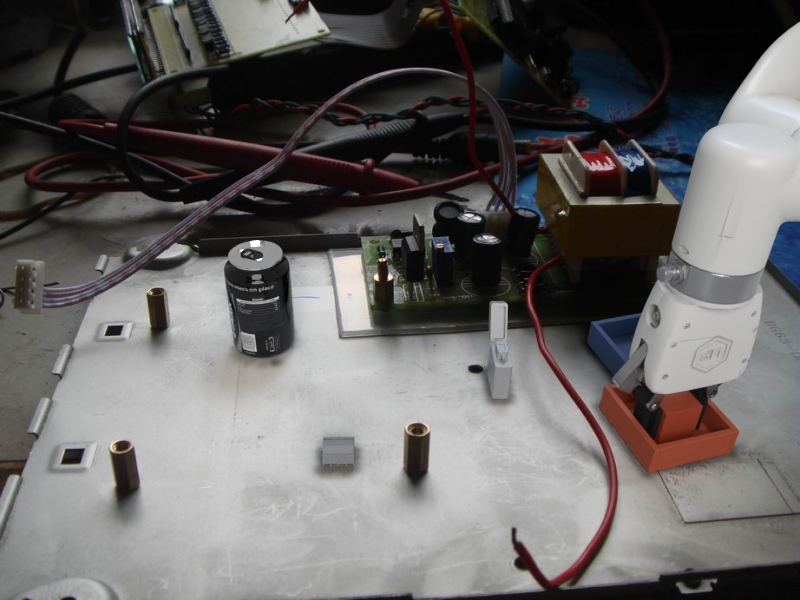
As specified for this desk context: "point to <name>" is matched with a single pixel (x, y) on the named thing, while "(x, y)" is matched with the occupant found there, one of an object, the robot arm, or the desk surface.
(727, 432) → the terracotta bin
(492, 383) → the lighter
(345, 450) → the grey pin connector
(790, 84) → the robot arm
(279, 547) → the desk surface
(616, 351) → the slate bin
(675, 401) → the terracotta block
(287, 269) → the beverage can
